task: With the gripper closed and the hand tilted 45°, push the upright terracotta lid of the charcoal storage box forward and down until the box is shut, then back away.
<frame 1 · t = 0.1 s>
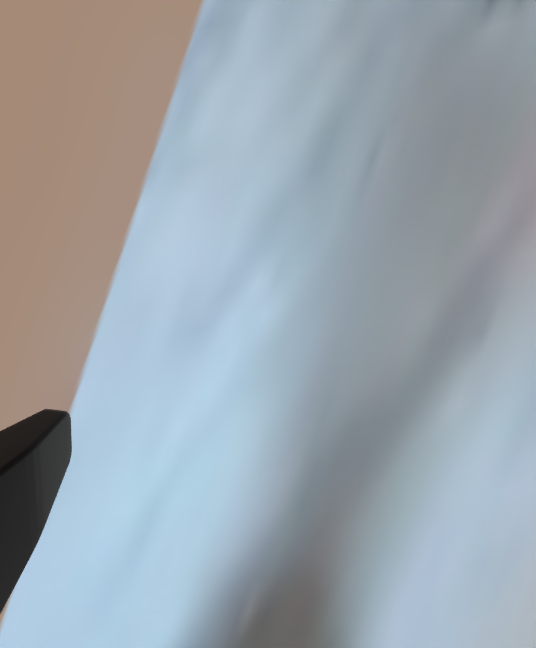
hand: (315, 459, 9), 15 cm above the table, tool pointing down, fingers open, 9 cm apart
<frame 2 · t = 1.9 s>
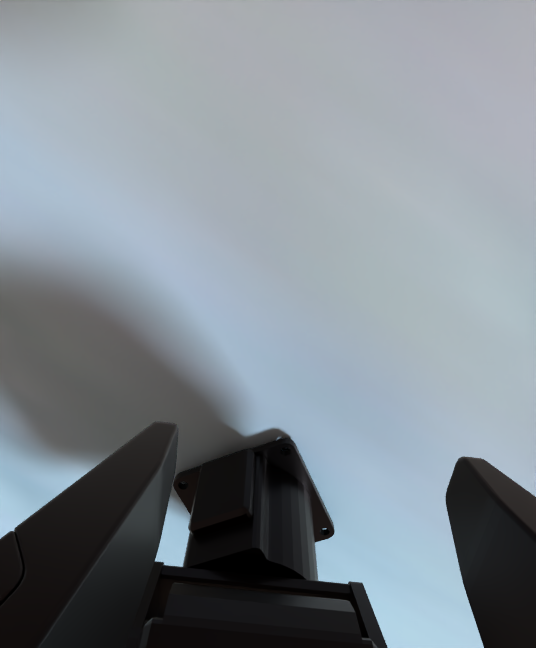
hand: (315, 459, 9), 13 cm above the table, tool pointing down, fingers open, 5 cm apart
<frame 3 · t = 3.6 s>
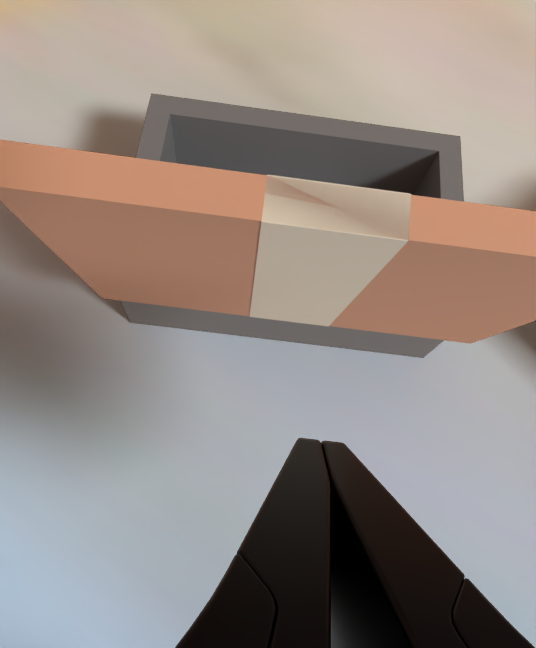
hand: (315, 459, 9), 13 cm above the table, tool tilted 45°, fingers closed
lid: (306, 273, 15), point 9 cm above the table, hinge at 100.0°
storage box: (286, 257, 26), on the table
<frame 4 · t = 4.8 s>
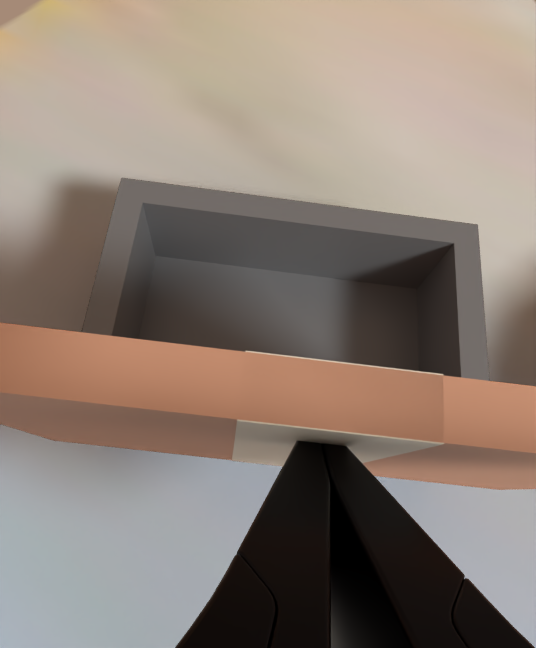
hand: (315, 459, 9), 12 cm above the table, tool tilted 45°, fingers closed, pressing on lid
lid: (300, 432, 12), point 10 cm above the table, hinge at 93.5°, touching gripper
storage box: (278, 352, 22), on the table
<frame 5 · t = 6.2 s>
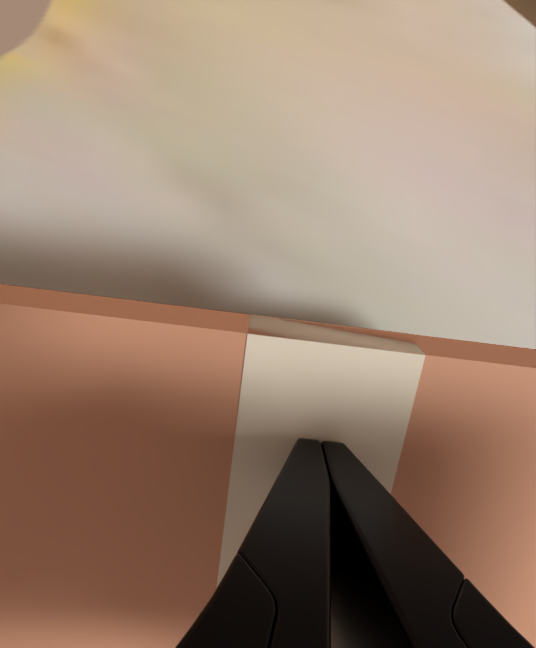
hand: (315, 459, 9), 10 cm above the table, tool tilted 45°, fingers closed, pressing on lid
lid: (296, 537, 10), point 9 cm above the table, hinge at 42.5°, touching gripper
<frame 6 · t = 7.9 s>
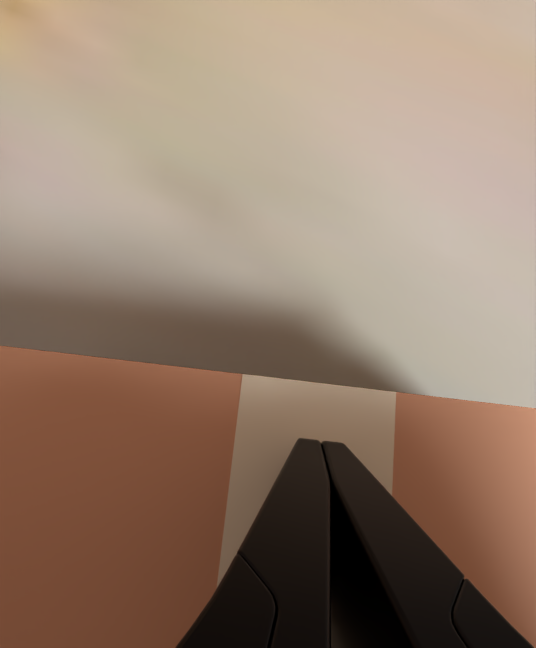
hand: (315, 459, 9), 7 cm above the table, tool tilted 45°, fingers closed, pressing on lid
lid: (295, 635, 9), point 6 cm above the table, hinge at 6.6°, touching gripper
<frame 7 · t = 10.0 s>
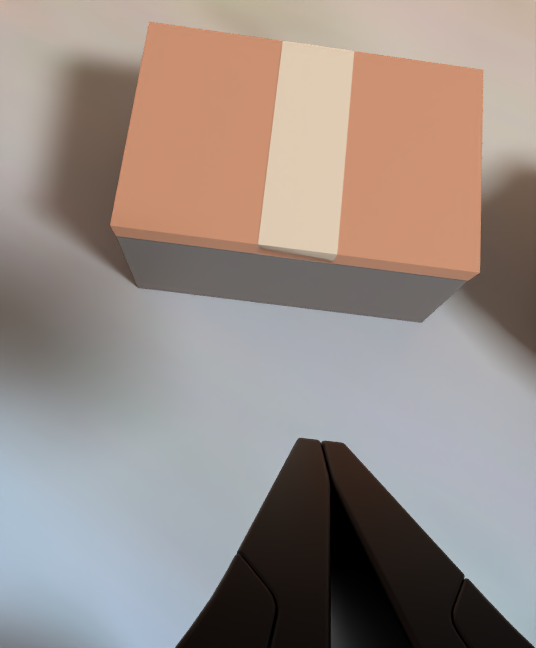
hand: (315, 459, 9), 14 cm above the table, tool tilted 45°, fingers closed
lid: (306, 149, 20), point 6 cm above the table, hinge at 6.5°
storage box: (289, 224, 26), on the table
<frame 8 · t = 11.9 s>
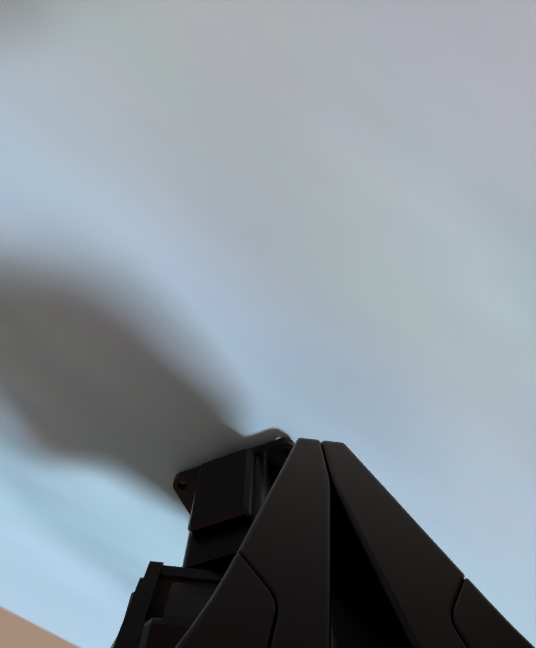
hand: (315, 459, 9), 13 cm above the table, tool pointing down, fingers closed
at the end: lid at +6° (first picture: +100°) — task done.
